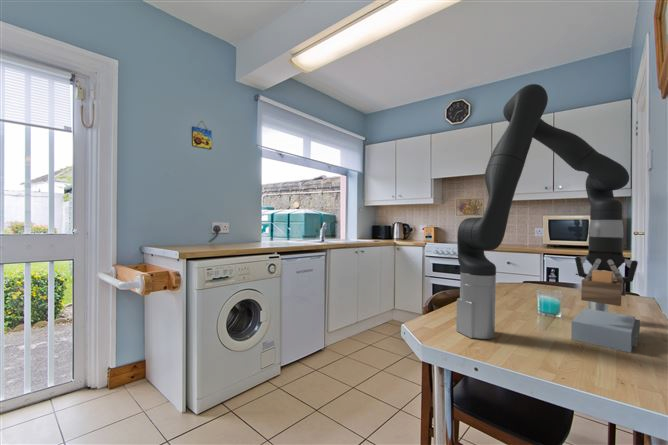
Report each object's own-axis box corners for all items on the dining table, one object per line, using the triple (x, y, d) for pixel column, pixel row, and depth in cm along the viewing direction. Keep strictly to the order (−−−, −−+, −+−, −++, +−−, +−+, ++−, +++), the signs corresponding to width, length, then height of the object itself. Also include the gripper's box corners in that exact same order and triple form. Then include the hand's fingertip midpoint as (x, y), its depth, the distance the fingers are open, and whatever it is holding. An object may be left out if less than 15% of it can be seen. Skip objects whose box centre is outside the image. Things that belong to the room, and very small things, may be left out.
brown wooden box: (620, 306, 80) (621, 284, 80) (581, 300, 85) (581, 280, 85) (625, 295, 94) (626, 276, 94) (591, 290, 100) (591, 273, 100)
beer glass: (617, 323, 102) (618, 278, 102) (595, 323, 102) (596, 277, 102) (599, 317, 109) (600, 274, 109) (579, 316, 109) (580, 274, 109)
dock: (636, 354, 77) (636, 333, 77) (571, 339, 86) (571, 321, 86) (639, 334, 92) (640, 317, 92) (583, 323, 101) (584, 308, 101)
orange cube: (611, 288, 83) (611, 273, 83) (591, 285, 85) (592, 271, 85) (612, 286, 85) (613, 272, 85) (593, 284, 88) (594, 270, 88)
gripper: (640, 236, 87) (639, 296, 87) (576, 234, 98) (575, 288, 97) (639, 237, 82) (638, 300, 82) (572, 234, 92) (571, 291, 92)
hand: (604, 293), depth 90 cm, fingers closed on brown wooden box, 5 cm apart
